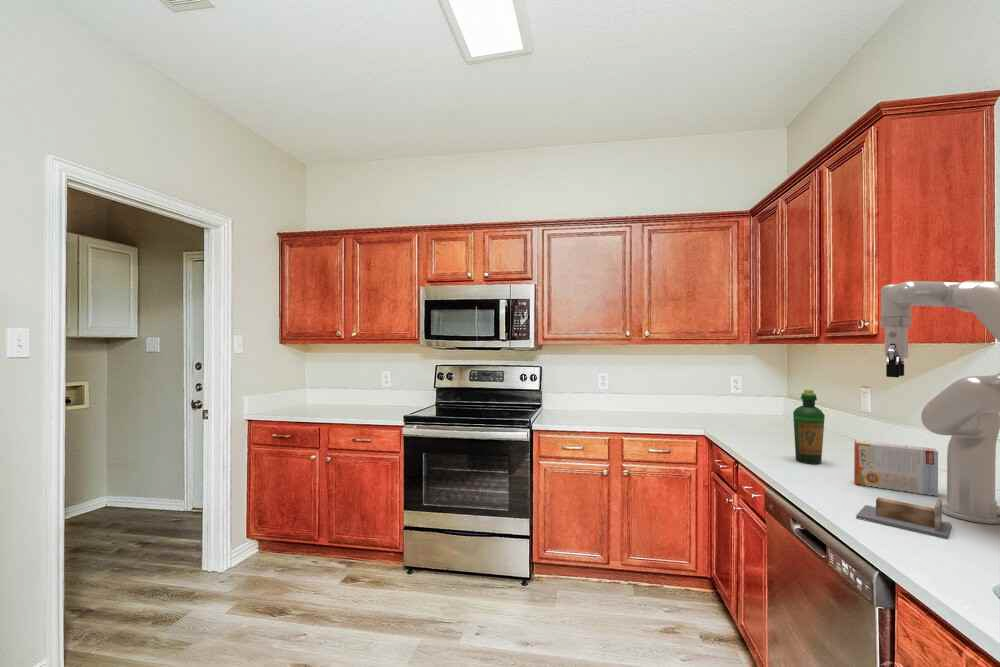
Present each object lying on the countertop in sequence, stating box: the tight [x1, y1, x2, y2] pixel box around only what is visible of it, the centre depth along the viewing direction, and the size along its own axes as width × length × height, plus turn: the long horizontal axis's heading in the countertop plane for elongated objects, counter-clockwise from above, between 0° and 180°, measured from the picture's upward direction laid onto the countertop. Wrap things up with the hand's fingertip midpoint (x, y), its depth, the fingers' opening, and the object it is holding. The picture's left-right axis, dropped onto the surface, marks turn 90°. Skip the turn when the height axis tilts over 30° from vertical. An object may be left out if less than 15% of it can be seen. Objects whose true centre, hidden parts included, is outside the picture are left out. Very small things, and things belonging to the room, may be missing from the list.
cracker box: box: [853, 439, 939, 497], centre depth 158 cm, size 14×6×21 cm
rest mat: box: [855, 504, 952, 540], centre depth 128 cm, size 18×12×1 cm, turn 44°
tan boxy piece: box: [875, 497, 943, 531], centre depth 128 cm, size 13×8×6 cm, turn 44°
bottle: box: [792, 389, 825, 465], centre depth 191 cm, size 11×11×28 cm
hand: (895, 376), depth 156 cm, fingers open, 9 cm apart
